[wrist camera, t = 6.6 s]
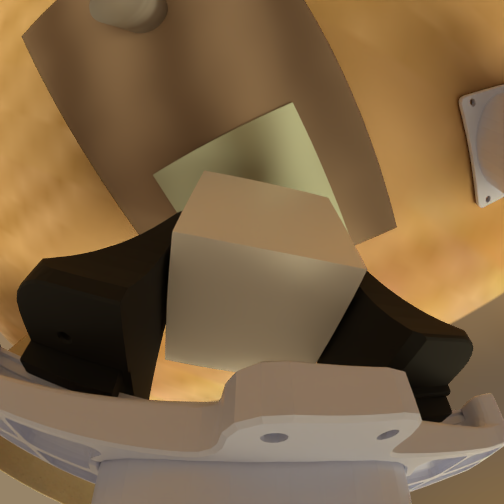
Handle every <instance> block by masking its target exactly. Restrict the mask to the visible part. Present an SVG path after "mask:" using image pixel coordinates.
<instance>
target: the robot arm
mask: <svg viewBox="0 0 504 504" xmlns="http://www.w3.org/2000/svg"><path fill="white" fill-rule="evenodd" d="M470 100H472V105H471V104H470ZM459 107H460V111H461V115H462V119H463V123H464V128H465V132H466V137H467V142H468V147H469V153H470V159H471V165H472V172H473V179H474V187H475V197H476V204H477V205H478V206H479V207H481V208H483V207H485V206H487V205H489V204H491V203H493V202H495V201H497V200H499V199H501V198H502V197H504V84H502V85H499V86H495V87H491V88H488V89H484V90H481V91H477V92H474V93H470V94H467V95H464V96H462V97H460V99H459ZM486 197H487V199H486ZM181 213H182V211H180V212H178V213H176V214H175V215H173V216H171V217H170V218H168V219H167V220H165V221H163V222H162V223H160V224H159V225H157V226H155V227H153V228H152V229H150V230H148V231H146V232H144V233H142V234H140V235H138V236H136V237H134V238H132V239H130V240H127V241H125V242H122V243H120V244H117V245H114V246H110V247H107V248H104V249H100V250H97V251H93V252H89V253H84V254H79V255H73V256H66V257H56V258H44V259H42V260H41V261H40V262H39V263H38V265H37V266H36V267H35V268H34V269H33V270H32V271H31V273H30V274H29V275H28V276H27V277H26V279H25V280H24V281H23V282H22V283H21V285H20V287H19V289H18V291H17V303H18V307H19V311H20V314H21V316H22V319H23V322H24V324H25V327H26V329H27V332H28V334H29V337H30V339H31V341H30V342H29V344H28V346H27V347H26V349H25V351H24V353H23V354H22V356H19V355H17V354H15V353H12V352H10V351H8V350H6V349H4V348H2V347H1V346H0V436H2V437H3V438H5V439H7V440H8V441H10V442H11V443H13V444H15V445H16V446H18V447H20V448H21V449H23V450H25V451H27V452H28V453H30V454H32V455H34V456H35V457H37V458H39V459H41V460H43V461H45V462H47V463H49V464H51V465H53V466H55V467H57V468H59V469H61V470H63V471H65V472H67V473H70V474H72V475H74V476H76V477H79V478H81V479H83V480H86V481H88V482H91V483H93V484H95V488H94V492H93V497H92V502H91V504H412V502H411V497H410V491H413V490H416V489H420V488H422V487H425V486H428V485H431V484H433V483H436V482H439V481H441V480H444V479H447V478H449V477H452V476H454V475H457V474H459V473H462V472H464V471H467V470H469V469H471V468H472V467H474V466H475V465H477V464H478V463H480V462H482V461H483V460H485V459H486V458H488V457H489V456H491V455H492V454H493V453H495V452H496V451H498V450H499V449H500V448H502V447H503V446H504V420H503V417H502V415H501V412H500V410H499V408H498V406H497V403H496V401H495V399H494V397H493V395H492V393H488V394H483V395H478V396H475V397H473V398H472V399H470V400H469V401H468V402H467V403H466V404H465V405H464V406H463V407H462V408H461V409H457V410H451V408H450V405H449V402H448V400H447V398H446V396H448V395H449V394H450V389H449V386H448V384H449V383H450V382H451V381H452V379H453V378H454V377H455V376H456V375H457V374H458V373H459V372H460V371H461V370H462V369H463V368H464V366H465V365H466V364H467V362H468V361H469V359H470V357H471V355H472V351H473V345H472V342H471V340H470V339H469V337H468V335H467V334H466V332H465V331H464V330H462V329H459V328H457V327H454V326H452V325H450V324H447V323H445V322H442V321H440V320H438V319H436V318H434V317H432V316H430V315H428V314H426V313H425V312H423V311H421V310H419V309H418V308H416V307H414V306H413V305H411V304H409V303H408V302H406V301H405V300H403V299H402V298H400V297H399V296H397V295H396V294H395V293H393V292H392V291H391V290H389V289H388V288H387V287H385V286H384V285H383V284H382V283H380V282H379V281H378V280H377V279H376V278H375V277H373V276H372V275H371V274H370V273H369V272H368V271H366V273H365V275H364V277H363V279H362V281H361V283H360V285H359V287H358V289H357V291H356V293H355V295H354V297H353V299H352V301H351V302H350V304H349V306H348V308H347V310H346V312H345V314H344V315H343V317H342V319H341V321H340V323H339V324H338V326H337V328H336V330H335V332H334V333H333V335H332V337H331V339H330V340H329V342H328V344H327V345H326V347H325V349H324V351H323V352H322V354H321V356H320V357H319V359H318V360H317V363H308V362H298V361H288V360H287V361H262V362H260V363H257V364H254V365H251V366H248V367H246V368H243V369H240V370H238V371H236V373H235V374H234V375H233V376H232V377H231V378H230V379H229V380H228V382H227V383H226V384H225V387H224V390H223V394H222V397H221V399H220V400H219V402H180V401H157V400H149V396H150V391H151V386H152V381H153V376H154V371H155V366H156V362H157V357H158V353H159V349H160V344H161V340H162V336H163V332H164V329H165V325H166V314H167V294H168V278H169V264H170V252H171V240H172V231H173V229H174V227H175V225H176V223H177V221H178V219H179V217H180V215H181Z"/></svg>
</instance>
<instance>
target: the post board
mask: <svg viewBox="0 0 504 504" xmlns="http://www.w3.org/2000/svg"><path fill="white" fill-rule="evenodd" d="M22 38H23V40H24V43H25V45H26V47H27V49H28V51H29V53H30V55H31V57H32V59H33V62H34V64H35V66H36V68H37V70H38V72H39V74H40V76H41V77H42V79H43V81H44V83H45V85H46V87H47V89H48V91H49V93H50V95H51V96H52V98H53V100H54V102H55V104H56V106H57V107H58V109H59V111H60V113H61V114H62V116H63V118H64V120H65V121H66V123H67V125H68V127H69V128H70V130H71V132H72V133H73V135H74V137H75V138H76V140H77V142H78V143H79V145H80V147H81V148H82V150H83V152H84V153H85V155H86V156H87V158H88V160H89V161H90V163H91V164H92V166H93V168H94V169H95V171H96V172H97V174H98V175H99V177H100V178H101V180H102V182H103V183H104V185H105V186H106V188H107V189H108V191H109V192H110V194H111V195H112V197H113V198H114V200H115V201H116V203H117V204H118V205H119V207H120V208H121V210H122V211H123V213H124V214H125V216H126V217H127V218H128V220H129V221H130V223H131V224H132V226H133V227H134V228H135V230H136V231H137V233H138V234H139V235H140V234H142V233H144V232H146V231H148V230H150V229H152V228H153V227H155V226H157V225H159V224H160V223H162V222H163V221H165V220H167V219H168V218H170V217H171V216H173V215H175V214H176V213H178V212H180V211H183V209H184V207H185V205H186V203H187V202H188V200H189V198H190V196H191V194H192V192H193V190H194V188H195V186H196V185H197V183H198V181H199V179H200V177H201V175H202V174H203V172H204V171H210V172H215V173H220V174H226V175H231V176H236V177H241V178H246V179H250V180H255V181H260V182H264V183H269V184H274V185H278V186H282V187H287V188H291V189H295V190H299V191H304V192H308V193H312V194H316V195H320V196H324V197H328V198H329V200H330V202H331V203H332V205H333V207H334V209H335V210H336V212H337V214H338V216H339V217H340V219H341V221H342V223H343V225H344V226H345V228H346V230H347V232H348V234H349V236H350V237H351V239H352V241H353V243H354V245H357V244H359V243H362V242H364V241H366V240H369V239H371V238H373V237H376V236H378V235H380V234H383V233H385V232H387V231H390V230H392V229H394V228H396V227H397V226H396V222H395V218H394V214H393V210H392V207H391V203H390V199H389V196H388V192H387V189H386V186H385V182H384V179H383V176H382V173H381V169H380V166H379V163H378V160H377V157H376V154H375V151H374V148H373V146H372V143H371V140H370V137H369V134H368V132H367V129H366V126H365V124H364V121H363V119H362V116H361V114H360V111H359V109H358V106H357V104H356V101H355V99H354V97H353V94H352V92H351V90H350V87H349V85H348V83H347V81H346V78H345V76H344V74H343V72H342V70H341V68H340V65H339V63H338V61H337V59H336V57H335V55H334V53H333V51H332V49H331V47H330V45H329V43H328V41H327V40H326V38H325V36H324V34H323V32H322V30H321V28H320V27H319V25H318V23H317V21H316V19H315V18H314V16H313V14H312V12H311V11H310V9H309V7H308V6H307V4H306V2H305V1H304V0H56V1H55V2H54V3H53V4H52V5H51V6H50V7H49V8H48V9H47V10H46V11H45V12H44V13H43V14H42V15H41V16H40V17H39V18H38V19H37V20H36V21H35V22H34V23H33V24H32V25H31V26H30V28H29V29H28V30H27V31H26V32H25V33H24V34H23V35H22Z"/></svg>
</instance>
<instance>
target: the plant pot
mask: <svg viewBox="0 0 504 504" xmlns="http://www.w3.org/2000/svg"><path fill="white" fill-rule="evenodd" d="M30 341H31V339H30V337H29V334H28V335H27V336H26V337H24V338H23V339H22V340H20V341H19V342H18V343H17V344H15V345H14V346H13V347H12V348H11V349H9V350H8V351H10V352H12V353H15V354H17V355H19V356H22V354H23V353H24V351H25V349H26V347H27V346H28V344H29V342H30ZM0 470H1V471H2V472H4V473H6V474H7V475H9V476H10V477H12V478H14V479H15V480H17V481H19V482H21V483H22V484H24V485H26V486H28V487H30V488H32V489H33V490H35V491H37V492H39V493H41V494H43V495H45V496H47V497H49V498H51V499H53V500H56V501H57V502H60V503H62V504H91V502H92V497H93V492H94V488H95V484H93V483H91V482H88V481H86V480H83V479H81V478H79V477H76V476H74V475H72V474H70V473H67V472H65V471H63V470H61V469H59V468H57V467H55V466H53V465H51V464H49V463H47V462H45V461H43V460H41V459H39V458H37V457H35V456H34V455H32V454H30V453H28V452H27V451H25V450H23V449H21V448H20V447H18V446H16V445H15V444H13V443H11V442H10V441H8V440H7V439H5V438H3V437H2V436H0Z"/></svg>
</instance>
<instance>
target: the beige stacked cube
mask: <svg viewBox="0 0 504 504" xmlns="http://www.w3.org/2000/svg"><path fill="white" fill-rule="evenodd" d="M366 271H367V268H366V266H365V264H364V262H363V260H362V258H361V256H360V254H359V252H358V251H357V249H356V247H355V245H354V243H353V241H352V239H351V237H350V236H349V234H348V232H347V230H346V228H345V226H344V225H343V223H342V221H341V219H340V217H339V216H338V214H337V212H336V210H335V209H334V207H333V205H332V203H331V202H330V200H329V198H328V197H324V196H320V195H316V194H312V193H308V192H304V191H299V190H295V189H291V188H287V187H282V186H278V185H274V184H269V183H264V182H260V181H255V180H250V179H246V178H241V177H236V176H231V175H226V174H220V173H215V172H210V171H204V172H203V174H202V175H201V177H200V179H199V181H198V183H197V185H196V186H195V188H194V190H193V192H192V194H191V196H190V198H189V200H188V202H187V203H186V205H185V207H184V209H183V211H182V213H181V215H180V217H179V219H178V221H177V223H176V225H175V227H174V229H173V231H172V240H171V252H170V264H169V278H168V294H167V314H166V345H165V359H166V360H171V361H175V362H180V363H185V364H190V365H196V366H201V367H207V368H213V369H219V370H225V371H232V372H236V371H238V370H240V369H243V368H246V367H248V366H251V365H254V364H257V363H260V362H262V361H287V360H288V361H298V362H308V363H316V362H317V360H318V359H319V357H320V356H321V354H322V352H323V351H324V349H325V347H326V345H327V344H328V342H329V340H330V339H331V337H332V335H333V333H334V332H335V330H336V328H337V326H338V324H339V323H340V321H341V319H342V317H343V315H344V314H345V312H346V310H347V308H348V306H349V304H350V302H351V301H352V299H353V297H354V295H355V293H356V291H357V289H358V287H359V285H360V283H361V281H362V279H363V277H364V275H365V273H366Z"/></svg>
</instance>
